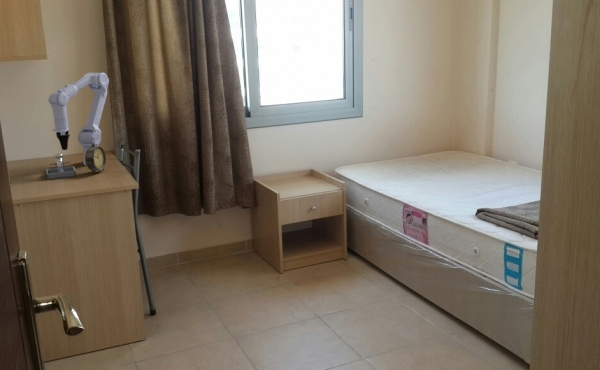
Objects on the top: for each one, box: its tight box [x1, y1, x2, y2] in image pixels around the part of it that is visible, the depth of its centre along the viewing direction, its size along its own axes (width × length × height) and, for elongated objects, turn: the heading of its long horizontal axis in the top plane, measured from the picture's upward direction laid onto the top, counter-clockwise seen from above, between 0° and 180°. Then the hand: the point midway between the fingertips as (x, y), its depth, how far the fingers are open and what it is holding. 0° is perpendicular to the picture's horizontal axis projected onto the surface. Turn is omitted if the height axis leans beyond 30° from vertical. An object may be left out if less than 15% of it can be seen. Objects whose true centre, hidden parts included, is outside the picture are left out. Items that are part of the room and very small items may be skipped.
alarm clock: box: [85, 137, 107, 175], centre depth 285 cm, size 11×5×16 cm, turn 168°
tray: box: [45, 165, 77, 181], centre depth 282 cm, size 11×12×2 cm
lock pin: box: [54, 153, 64, 173], centre depth 282 cm, size 3×3×9 cm
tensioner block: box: [48, 160, 71, 169], centre depth 293 cm, size 9×9×3 cm
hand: (64, 148), depth 290 cm, fingers open, 7 cm apart
